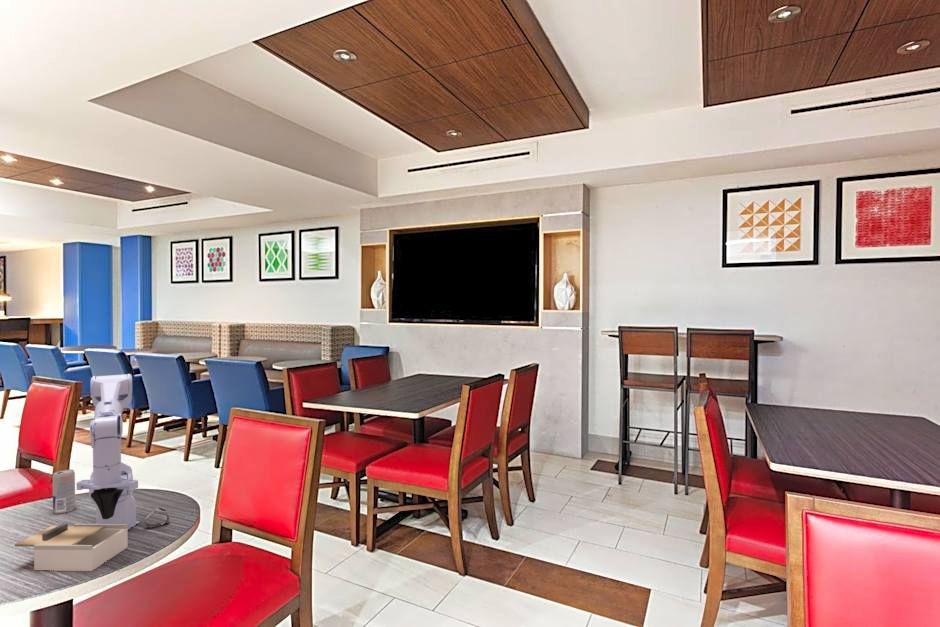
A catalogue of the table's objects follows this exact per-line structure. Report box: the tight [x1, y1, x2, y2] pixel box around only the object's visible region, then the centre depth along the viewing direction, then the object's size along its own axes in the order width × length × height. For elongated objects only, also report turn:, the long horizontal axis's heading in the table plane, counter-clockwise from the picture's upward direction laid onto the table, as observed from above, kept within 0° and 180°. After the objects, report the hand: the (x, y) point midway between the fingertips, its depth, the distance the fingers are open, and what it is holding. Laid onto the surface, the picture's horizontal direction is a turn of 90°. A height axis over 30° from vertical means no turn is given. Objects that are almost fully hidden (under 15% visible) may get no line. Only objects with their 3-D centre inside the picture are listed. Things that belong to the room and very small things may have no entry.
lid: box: [14, 523, 104, 548], centre depth 126 cm, size 10×14×2 cm
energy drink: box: [52, 469, 76, 515], centre depth 155 cm, size 5×5×12 cm
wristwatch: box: [143, 507, 170, 529], centre depth 144 cm, size 4×6×5 cm, turn 133°
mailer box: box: [33, 523, 129, 572], centre depth 125 cm, size 12×14×6 cm
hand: (108, 517), depth 127 cm, fingers closed
